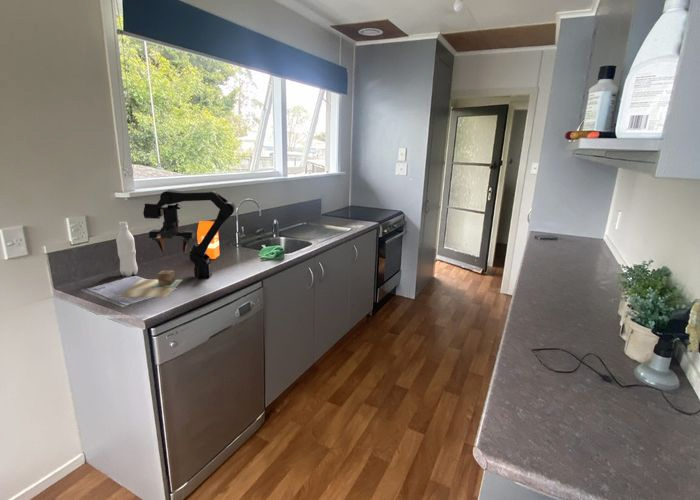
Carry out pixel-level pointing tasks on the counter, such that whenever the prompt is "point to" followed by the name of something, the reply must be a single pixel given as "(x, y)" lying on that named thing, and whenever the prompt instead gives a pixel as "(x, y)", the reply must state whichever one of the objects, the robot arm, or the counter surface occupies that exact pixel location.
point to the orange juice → (214, 245)
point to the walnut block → (166, 277)
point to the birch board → (149, 289)
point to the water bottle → (126, 251)
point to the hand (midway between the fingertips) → (173, 252)
